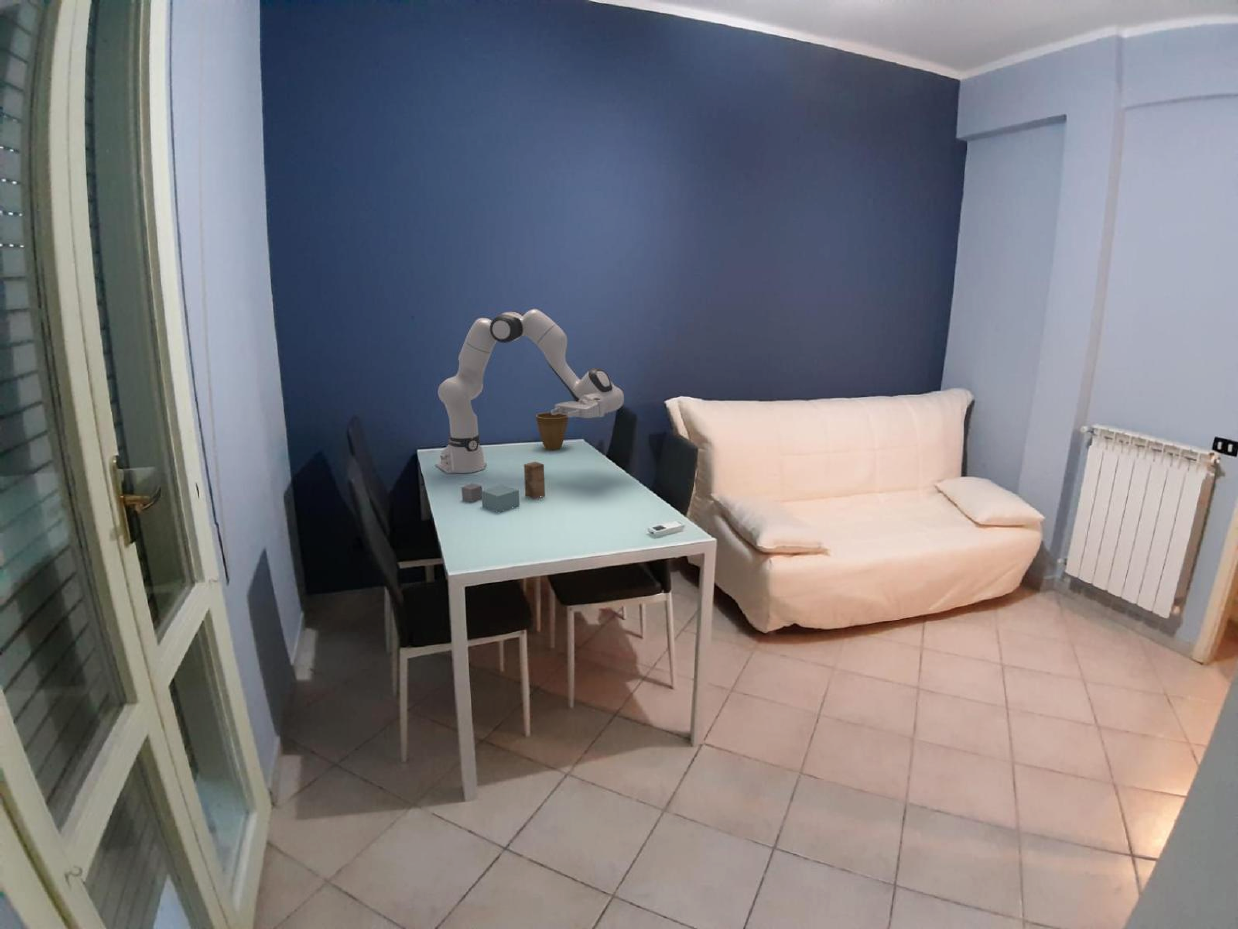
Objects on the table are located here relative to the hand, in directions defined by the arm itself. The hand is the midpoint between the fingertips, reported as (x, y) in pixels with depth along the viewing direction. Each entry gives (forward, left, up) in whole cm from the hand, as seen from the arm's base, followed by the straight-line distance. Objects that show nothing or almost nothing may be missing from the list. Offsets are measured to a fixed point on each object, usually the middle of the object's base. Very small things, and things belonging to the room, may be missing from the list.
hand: (559, 414), depth 223 cm
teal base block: (0, -28, -29) cm, 40 cm away
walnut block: (0, -13, -28) cm, 31 cm away
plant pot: (-48, +36, -29) cm, 66 cm away
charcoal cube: (-13, -31, -29) cm, 44 cm away
